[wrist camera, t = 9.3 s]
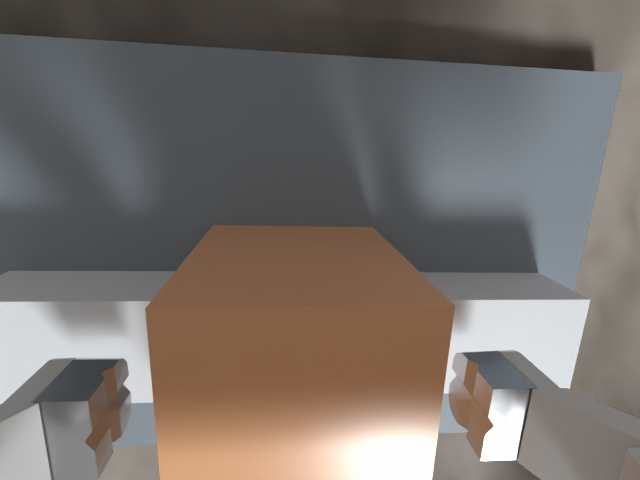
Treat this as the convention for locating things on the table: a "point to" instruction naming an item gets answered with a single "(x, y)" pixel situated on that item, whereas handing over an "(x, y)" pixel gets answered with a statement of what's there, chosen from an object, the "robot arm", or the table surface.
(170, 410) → the block
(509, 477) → the table surface
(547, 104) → the rail board
